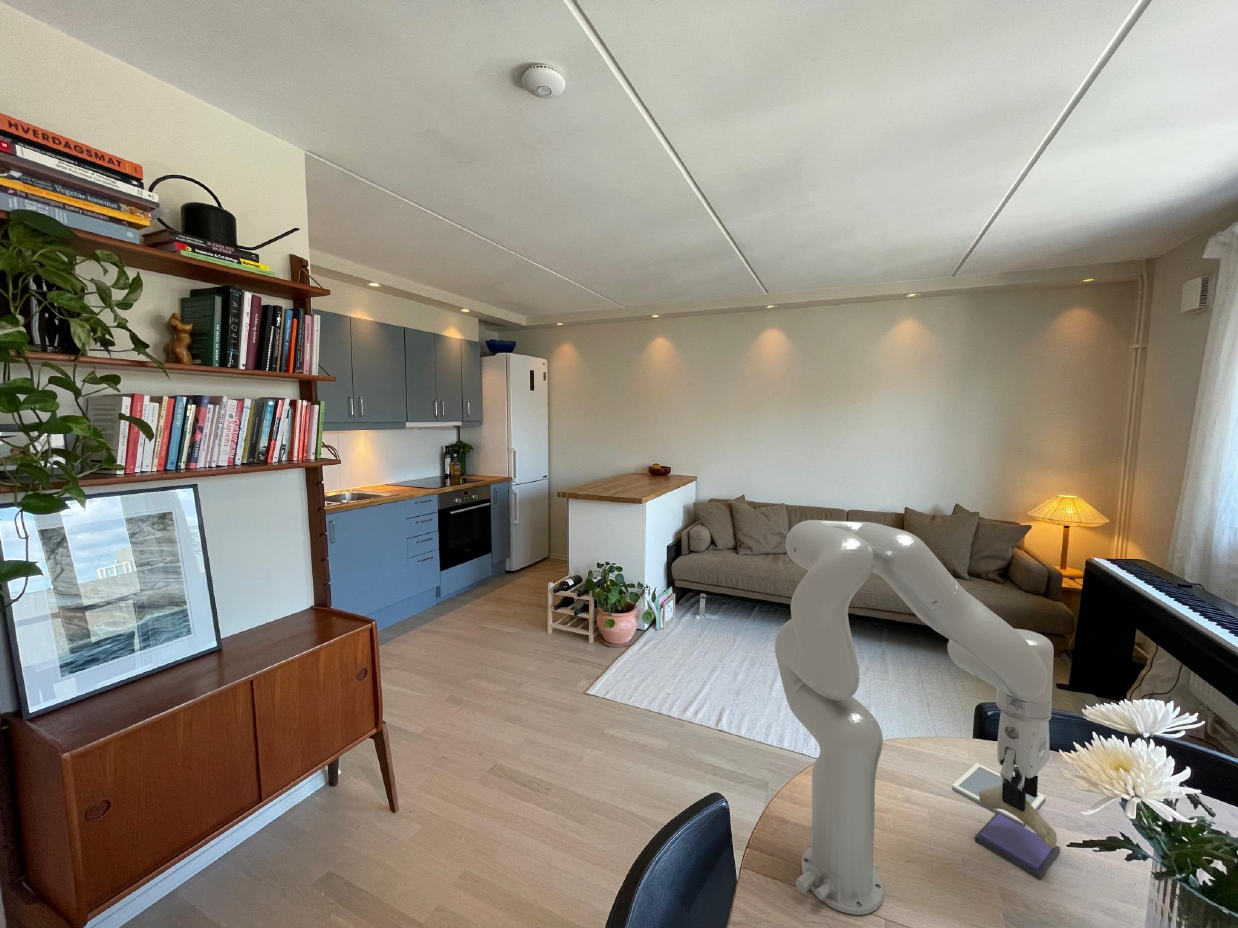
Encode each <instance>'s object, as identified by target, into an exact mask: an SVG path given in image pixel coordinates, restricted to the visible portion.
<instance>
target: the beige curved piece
mask: <svg viewBox="0 0 1238 928" xmlns="http://www.w3.org/2000/svg"><path fill="white" fill-rule="evenodd" d="M979 799H980V802H981V803H982V804H983V805H984V806H987V807H989V808H992V809H1003V810H1006V811H1008V812H1010V813H1011V814H1013V815H1014V816H1016V817H1017V818H1018V819H1019V820H1021V821H1022V822H1023V823H1024V824H1026V825H1025V826H1027V827H1028V828H1029V829H1031V830H1032V832H1033V833H1035V834H1037V835H1038V836H1039V837H1040V838H1041V839H1042V840H1043V842H1044V843H1045V844H1046V845H1047V846H1048V847H1051V848H1055V846H1057V841H1058V838H1057V832H1056V831H1055V829H1054V828H1053V827H1052V826H1051V824H1049V823H1048V822H1047V821H1046V820H1045V819H1044V818H1043V817H1042V816H1041V815H1040V813H1039V812H1038V810H1037V811H1036V810H1035V809H1034V808H1033V806H1032V805H1031V804H1030V803H1029V802H1028V801H1027V800H1026V803H1025V810H1024V811H1023V812H1022V811H1020V810H1018V809H1016V808H1014V807H1012V806H1010V805H1008V804H1006V803H1004V802H1003V801H1002V785H999V786H995V787H990V788H987V789H985V790H980V791H979Z"/></svg>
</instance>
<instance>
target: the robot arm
mask: <svg viewBox="0 0 1238 928" xmlns="http://www.w3.org/2000/svg"><path fill="white" fill-rule="evenodd" d="M785 549H786V553H787V555H788V556H789V558H790V559H791V561H792V562H794V564H796V565H798V566H799V567H800V568H802V569H804V570H807V572H806V574H805V575H804V577H803V578H802V579H801V581H800V582H799V583H798V585H797V587H796V588H795V590H794V592H793V594H792V597H791V601H790V615H791V616H790V617H791V619H789V620H788V621H787V622H784V623H783V625H782V626H781V627H780V628H779V630H778V632H777V635H776V637H775V643H774V652H775V658H776V663H777V666H778V671H779V674H780V679H781V683H782V688H783V691H784V694H785V695H784V696H785V699H786V701H787V704H788V707H789V709H790V711H791V713H792V714H793V715H794V716H795V718H796V719H797V720H798V721H799V723H800V724H802V726H803V727H804V729H806V730H807V731H808V733H810V735H811V736H812V737H813V738H814V740H815V741H816V742H817V744H818V746H819V755H818V757H817V758H816V760H815V761H814V763H813V766H812V770H811V771H812V773H811V836H810V838H811V841H810V842H811V843H810V846H809V847H807V848H806V850H805V851H804V852H803V854H802V856H801V862H800V863H801V873H802V874H801V875H799V877H798V878H796V879H795V881H794V882H795V886H796V888H797V890H798V891H799V892H800V893H801V894H803V895H804V894H806V893H807V892H808V891H811V892H812V894H814V896H816V897H817V899H819V900H820V901H821V902H823V903H824V904H826V905H827V906H829V907H830V908H832V909H834V910H837V911H839V912H842V913H846V914H848V915H849V914H850V915H855V916H856V915H859V916H860V915H863V916H864V915H867V914H870V913H872V912H875V911H876V910H877V909H879V907H880V906H881V904H882V902H883V901H884V900H883V899H884V884H883V879H882V877H881V875H880V873H879V871H878V870H877V868H876V867H875V866H874V854H875V853H874V851H875V848H874V847H875V843H874V841H875V806H876V803H875V802H876V801H875V797H876V796H875V795H876V792H875V791H876V777H877V769H878V765H879V760H880V757H881V754H882V750H883V745H884V735H883V732H882V729H881V726H880V724H879V722H878V721H877V719H876V718H875V717H874V715H873V713H871V712H870V710H869V709H867V708H866V707H865V706H864V705H863V704H862V703H861V702H860V701H859V700H857V699H856V698H855V697H854V695H855V694H856V693H857V690H858V688H859V685H860V679H861V677H860V676H861V675H860V666H859V662H858V658H857V654H856V649H855V644H854V640H853V636H852V631H851V626H850V622H849V621H850V620H849V606H850V603H851V601H852V600H853V598H854V597H855V594H856V593H857V592H858V590H859V589H860V588H861V587H862V586H863V584H865V582H867V580H868V579H869V577H870V575H871V574H872V573H873V574H876V575H878V576H879V577H881V579H883V580H884V581H885V582H886V583H887V584H888V585H889V586H890V588H892V590H893V591H894V592H895V593H896V594H897V596H899V598H900V599H901V600H902V601H903V602H904V603H905V604H906V605H907V606H908V608H909V609H910V610H911V611H912V612H913V613H914V614H915V615H916V617H917V618H918V619H919V620H921V621H922V622H923V623H924V624H926V625H927V626H928V627H930V628H931V629H932V630H934V631H935V632H936V633H939V634H940V635H942V636H943V637H945V638H947V639H948V642H947V653H948V656H949V657H950V659H951V661H952V662H953V663H954V664H956V665H957V666H958V667H959V668H960V669H962V670H964V671H966V672H967V673H969V674H970V675H973V676H975V677H976V678H978V679H980V680H982V681H984V682H985V683H987V684H989V685H991V686H993V687H995V688H996V697H995V700H996V701H995V703H996V706H997V707H998V708H999V709H1000V716H999V721H998V724H999V725H998V734H997V745H996V746H997V748H996V753H997V754H996V758H997V763H998V764H999V765H1000V766H1002V767H1001V771H1000V773H999V774H1000V776H1001V777H1002V782H1003V784H1002V801H1003V802H1004V803H1006V804H1008V805H1010V806H1012V807H1014V808H1016V809H1018V810H1020V811H1022V812H1023V811H1024V810H1025V803H1026V794H1028V795H1030V796H1032V797H1036V796H1037V792H1038V788H1039V787H1038V785H1039V776H1038V773H1039V772H1040V771H1041V770H1042V769H1043V768H1044V767H1045V765H1046V764H1048V761H1049V760H1050V723H1049V721H1050V720H1051V719H1052V701H1053V698H1052V697H1053V680H1054V679H1053V678H1054V677H1053V676H1054V655H1055V654H1054V653H1055V652H1054V651H1055V650H1054V644H1053V643H1052V642H1051V640H1050V639H1049V638H1048V637H1046V636H1044V635H1043V634H1041V633H1038V632H1036V631H1032V630H1027V629H1021V628H1014V627H1013V626H1012V625H1010V624H1009V623H1007V621H1005V620H1004V619H1003V618H1002V617H1000V616H999V615H997V614H996V613H995V612H993V611H992V610H991V609H990V608H988V606H986V605H985V604H984V603H982V602H981V601H980V600H978V599H977V598H976V597H975V596H973V595H972V594H970V593H969V592H968V591H966V589H964V588H963V587H962V585H960V584H959V582H958V581H957V580H956V579H955V578H954V576H952V574H951V573H950V572H949V571H948V570H947V568H946V567H945V565H944V564H943V563H942V562H941V561H940V560H939V559H938V558H937V556H936V555H935V553H933V552H932V550H931V549H930V548H929V547H928V546H927V544H926V543H925V542H924V541H923V540H922V539H921V538H919V537H918V536H917V535H915V534H913V533H911V532H909V531H907V530H903V529H900V528H896V527H891V526H887V525H885V524H882V523H876V522H870V521H848V520H847V521H846V520H843V521H842V520H825V519H824V520H822V519H821V520H819V519H808V520H803V521H801V522H797V524H795V525H794V526H793V527H791V529H790V530H789V531H788V532H787V536H786V537H785ZM1013 773H1014V774H1013Z"/></svg>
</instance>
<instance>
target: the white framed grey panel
mask: <svg viewBox="0 0 1238 928" xmlns="http://www.w3.org/2000/svg"><path fill="white" fill-rule="evenodd" d="M1000 774H1001V773H999V772H996V771H994V770H993V769H990V768H989V767H986V766H984V765H982V764H980V763H978V762H977V763H975V764H974V765H973V766H972V767H971V768H969V769H968V770H967V771H966V772H965V773H964V774H963V775H961V777H959V778H958V779H957V780H956V781H955V782H954V783H952V784H951V790H952V791H954V792H955V793H957V794H959V795H962V796H963V797H965V798H966V799H968V800H970V801H972V802H974V803H976V804H978V805H979V806H982V807H983V808H985V809H987V810H988V811H990V812H992V813H994V814H996V813H997V814H1000V815H1002V816H1004V817H1006V818H1008V819H1009V820H1011V821H1013V822H1015V823H1017V824H1019V825H1020V826H1022V827H1024V828H1025V826H1027V825H1026V824H1024V823H1023V822H1022V821H1021V820H1019V819H1018V818H1017V817H1016V816H1014V815H1013V814H1011V813H1010V812H1008V811H1006V810H1003V809H992V808H989V807H987V806H984V805H983V804H982V803H981V802H980V799H979V791H980V790H985V789H987V788H990V787H995V786H999V785H1002V784H1003V782H1002V777H1001V776H1000ZM1026 800H1027V801H1028V802H1029V803H1030V804H1031V805H1032V806H1033V808H1034V809H1035V810H1036V811H1037V812H1038V810H1039V809H1040V808H1041V807H1042V806H1043V804H1045V802H1046V795H1044V794H1042V793H1040V792H1038V791H1037V796H1036V797H1032V796H1030V795H1028V794H1026Z"/></svg>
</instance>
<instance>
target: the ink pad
mask: <svg viewBox="0 0 1238 928" xmlns="http://www.w3.org/2000/svg"><path fill="white" fill-rule="evenodd" d="M974 842H975V843H977V844H979V845H981V846H983V847H984V848H986V849H987V850H989V851H991V852H992V853H994V854H996V855H998V856H999V857H1001V858H1003V859H1004V860H1005V861H1007V862H1009V863H1011V864H1012V865H1014V866H1015V867H1017V868H1019V869H1021V870H1023V871H1024V872H1026V873H1027V874H1029V875H1031V876H1032V877H1034V878H1036V879H1037V880H1039V881H1041V880H1042V879H1043V878H1044V876H1045V874H1046V873H1047V872H1048V870H1049V869H1050V867H1051V866H1052V865H1053V863H1054V862H1055V860H1056V859H1057V857H1058V856H1059V855H1060V853H1061V847H1060V846H1058V845H1056V846H1055V848H1051V847H1048V846H1047V845H1046V844H1045V843H1044V842H1043V840H1042V839H1041V838H1040V837H1039V836H1038V835H1037V834H1036V833H1035V832H1034V831H1033V830H1032V831H1031V830H1029V829H1028V828H1026V827H1025V826H1024V827H1022V826H1020V825H1019V824H1017V823H1015V822H1013V821H1011V820H1009V819H1008V818H1006V817H1004V816H1002V815H1000V814H997V813H994V815H993V816H992V817H991V818H990V820H989V821H987V823H986V824H985V825H984V826H983V827H982V828H981V829H980V830H979V831H978V832H977V833H976V834H975V835H974Z"/></svg>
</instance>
